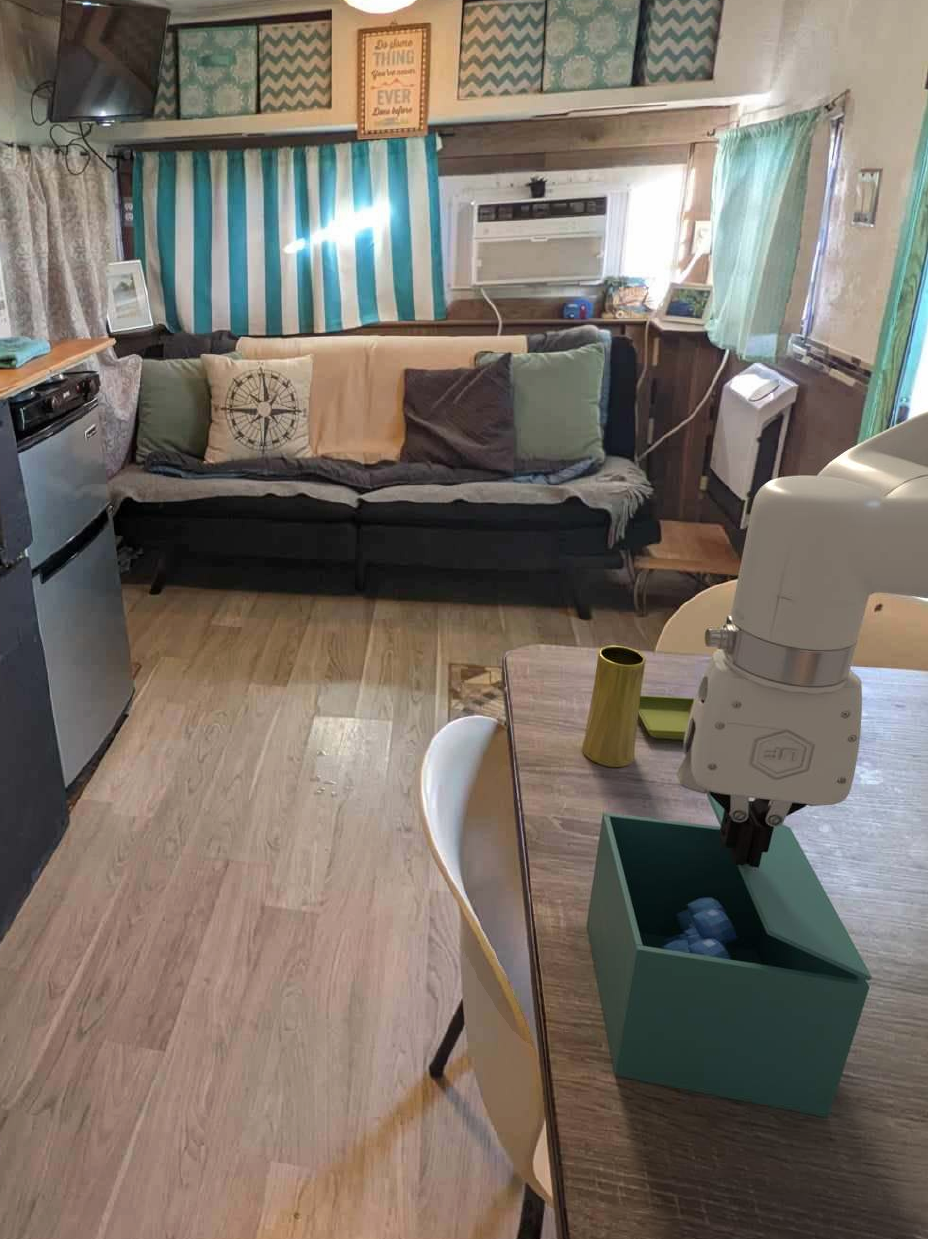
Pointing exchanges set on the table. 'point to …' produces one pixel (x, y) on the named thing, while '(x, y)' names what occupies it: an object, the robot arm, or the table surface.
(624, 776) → the table surface
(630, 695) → the vase
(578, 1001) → the table surface
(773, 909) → the flap
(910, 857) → the table surface
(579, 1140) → the table surface
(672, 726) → the olive green shallow tray
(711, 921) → the grapes
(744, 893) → the carton
